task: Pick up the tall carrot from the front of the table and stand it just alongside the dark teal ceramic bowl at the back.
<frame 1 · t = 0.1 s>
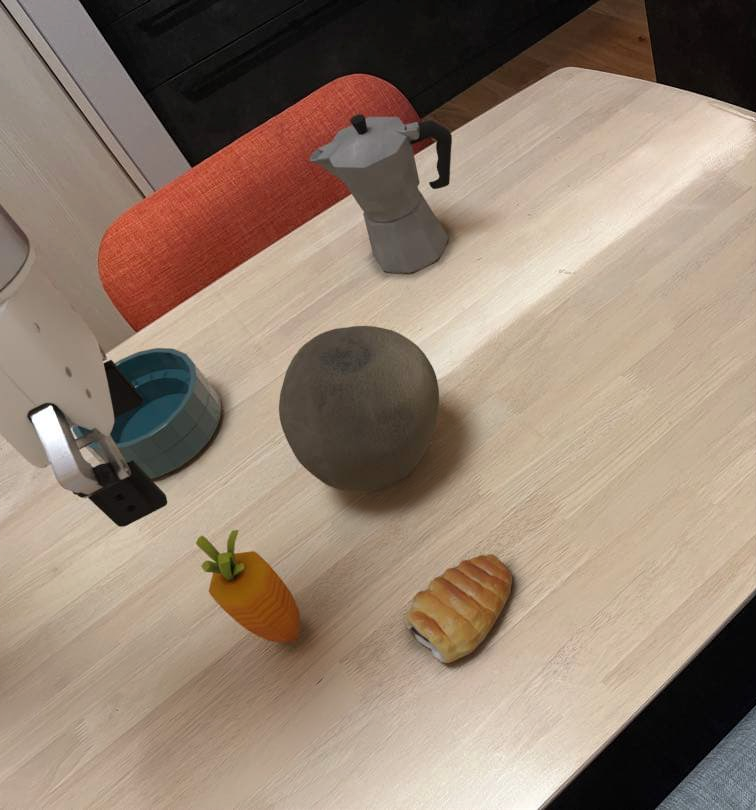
hand: (133, 459, 59), 25 cm above the table, tool pointing down, fingers open, 9 cm apart
carrot: (296, 638, 78), on the table
bowl: (164, 432, 97), on the table
pastry: (461, 616, 76), on the table
brown coconut: (390, 458, 88), on the table
coffeepot: (421, 247, 108), on the table
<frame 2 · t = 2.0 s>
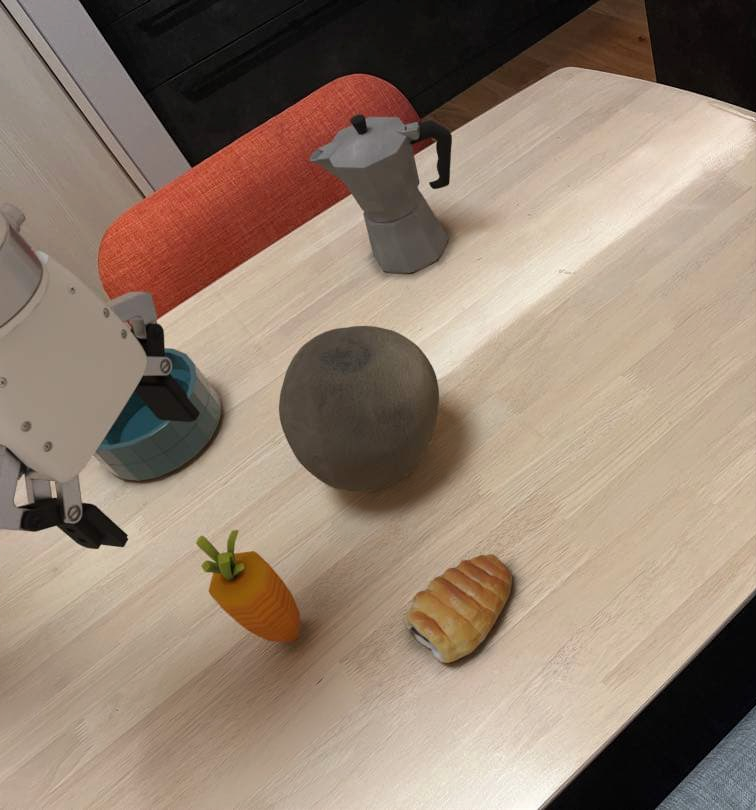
hand: (146, 476, 59), 24 cm above the table, tool pointing down, fingers open, 9 cm apart
nothing on the table moved.
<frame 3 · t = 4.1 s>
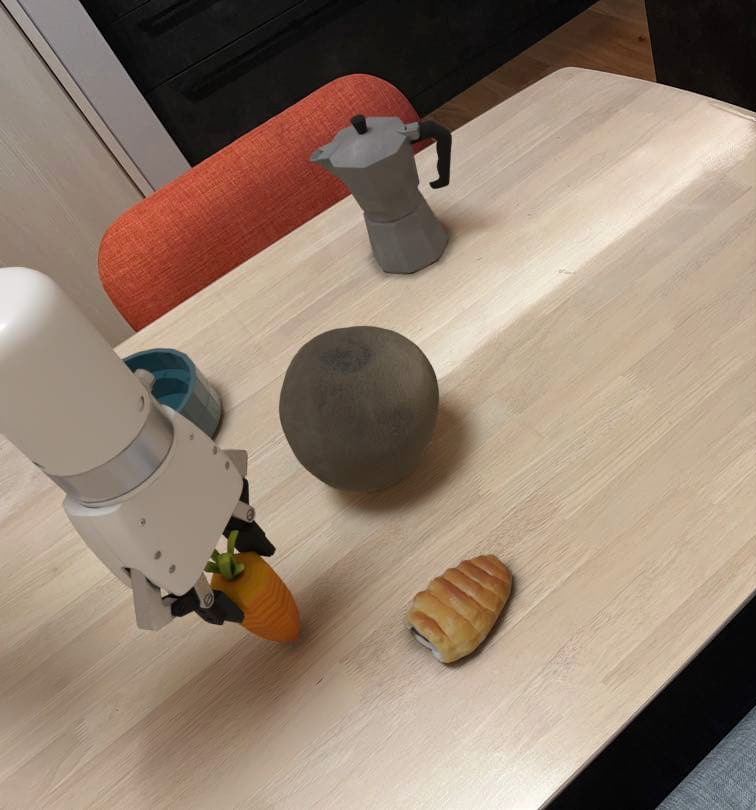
hand: (242, 582, 70), 10 cm above the table, tool pointing down, fingers closed on carrot, 5 cm apart
carrot: (296, 638, 78), on the table, touching gripper
everything else where it was.
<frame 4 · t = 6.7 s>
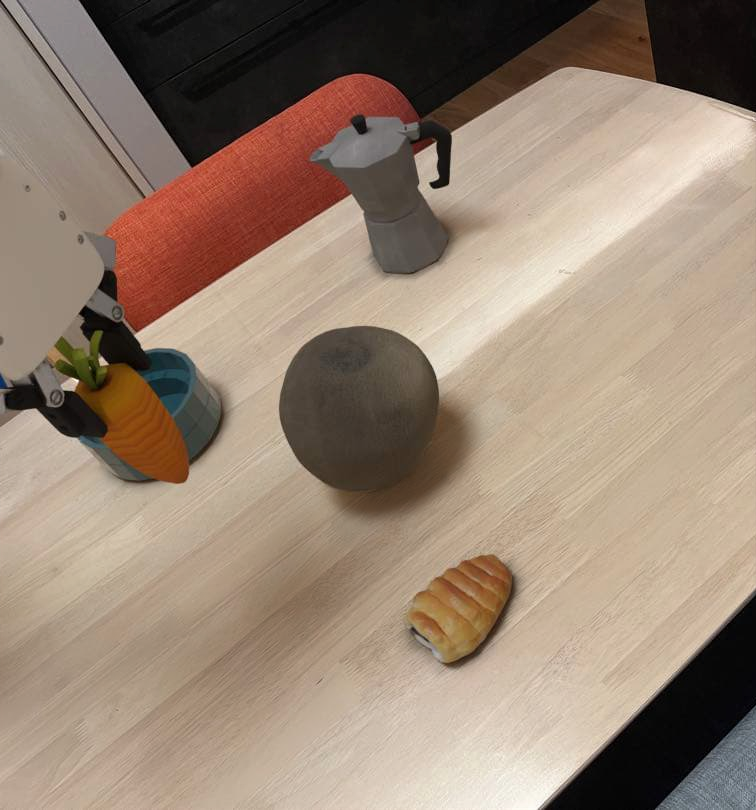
hand: (110, 397, 60), 27 cm above the table, tool pointing down, fingers closed on carrot, 5 cm apart
carrot: (185, 482, 68), point 17 cm above the table, touching gripper
everything else where it was.
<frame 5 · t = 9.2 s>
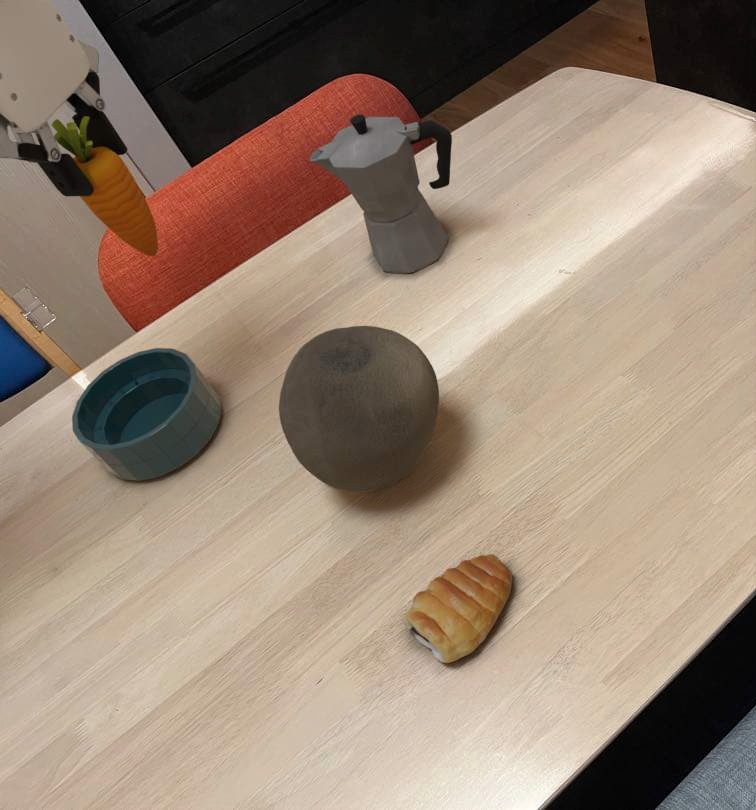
hand: (95, 171, 80), 27 cm above the table, tool pointing down, fingers closed on carrot, 5 cm apart
carrot: (155, 256, 88), point 17 cm above the table, touching gripper
everything else where it was.
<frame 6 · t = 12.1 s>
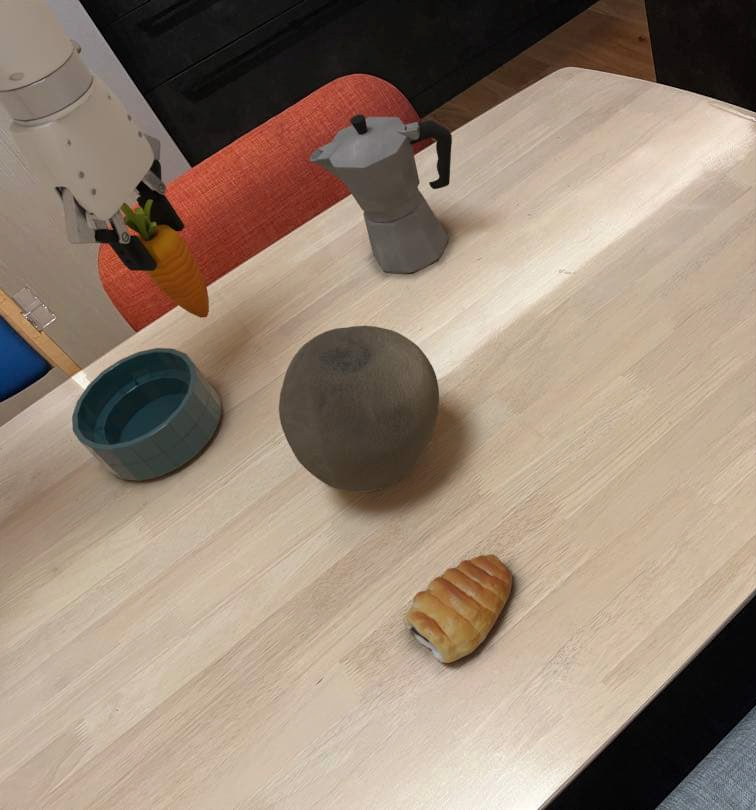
hand: (157, 247, 90), 16 cm above the table, tool pointing down, fingers closed on carrot, 4 cm apart
carrot: (206, 317, 98), point 6 cm above the table, touching gripper
everything else where it was.
when the fingers open (10 cm above the table, at t = 14.3 s): carrot stays where it is, on the table.
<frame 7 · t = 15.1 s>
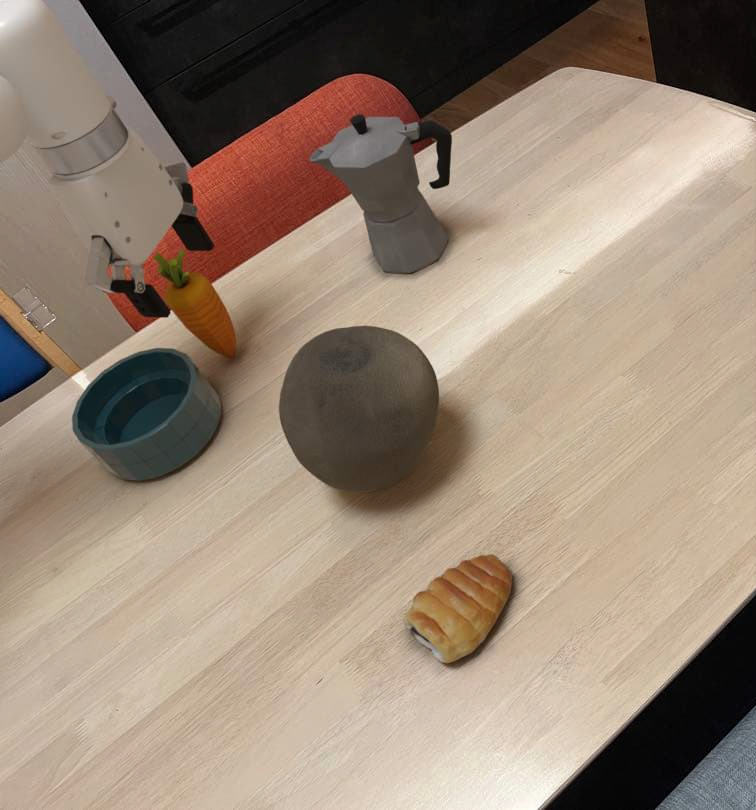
hand: (180, 281, 94), 12 cm above the table, tool pointing down, fingers open, 9 cm apart
carrot: (233, 357, 102), on the table
everything else where it was.
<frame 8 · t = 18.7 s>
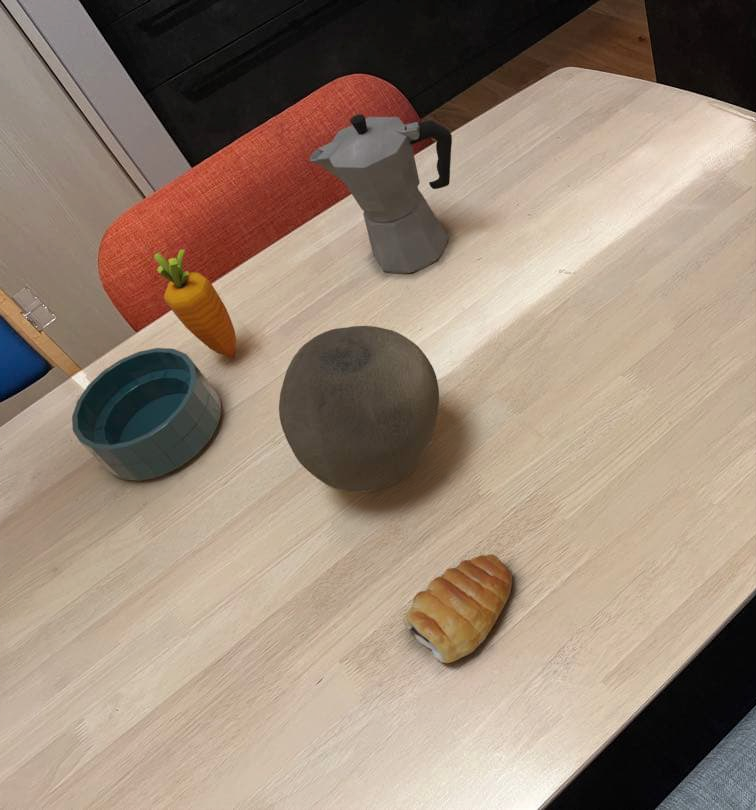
nothing on the table moved.
at the end: carrot inside the target area on the table beside the bowl (2.3 cm from its centre), on the table; carrot tilted 0°; the gripper is holding nothing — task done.
